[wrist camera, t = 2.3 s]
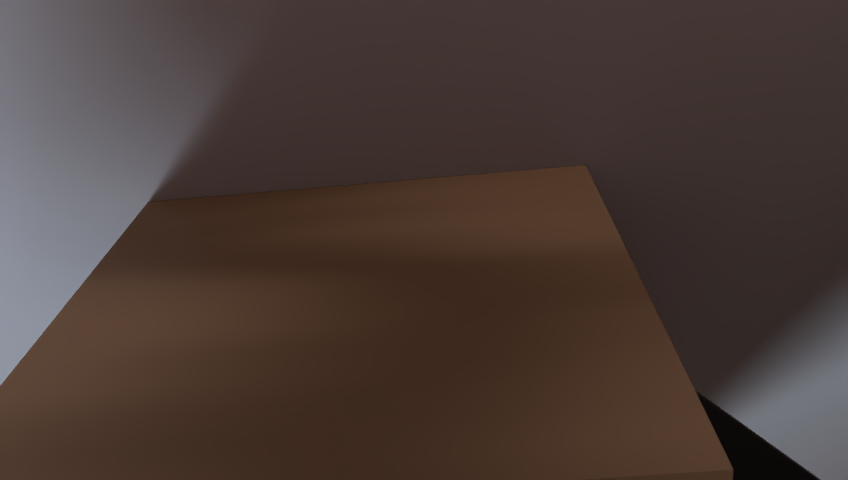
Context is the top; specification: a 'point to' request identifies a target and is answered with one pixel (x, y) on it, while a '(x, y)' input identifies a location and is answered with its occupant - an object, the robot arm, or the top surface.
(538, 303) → the tan cube
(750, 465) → the robot arm
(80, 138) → the top surface
